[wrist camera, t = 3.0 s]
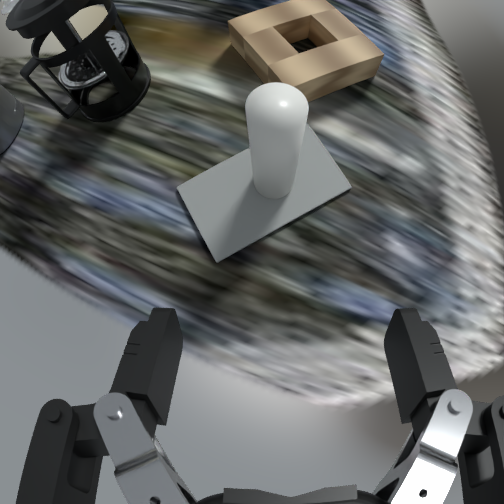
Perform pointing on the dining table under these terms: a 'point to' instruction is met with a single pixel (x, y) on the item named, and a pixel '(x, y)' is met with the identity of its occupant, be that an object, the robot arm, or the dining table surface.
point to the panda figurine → (8, 6)
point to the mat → (257, 197)
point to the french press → (82, 56)
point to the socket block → (309, 62)
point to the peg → (275, 136)
